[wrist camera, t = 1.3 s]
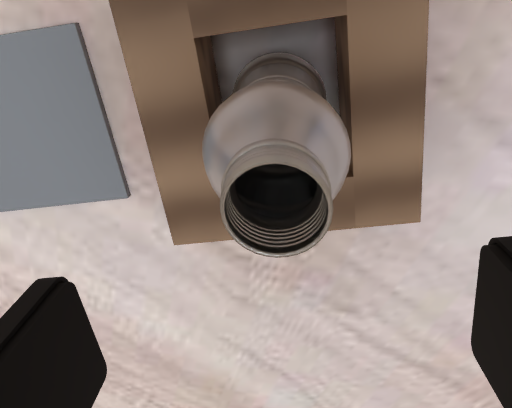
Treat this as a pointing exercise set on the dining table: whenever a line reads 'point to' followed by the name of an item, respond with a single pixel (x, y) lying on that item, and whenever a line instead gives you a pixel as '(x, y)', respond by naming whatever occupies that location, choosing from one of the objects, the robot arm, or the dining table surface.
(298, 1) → the bore block
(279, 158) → the plastic bottle
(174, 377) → the dining table surface
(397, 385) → the dining table surface
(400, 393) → the dining table surface
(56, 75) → the pad
